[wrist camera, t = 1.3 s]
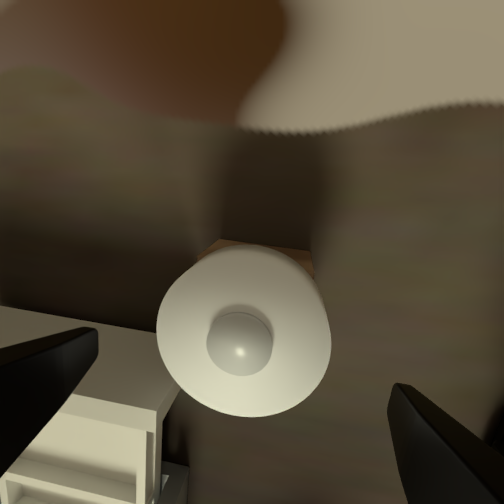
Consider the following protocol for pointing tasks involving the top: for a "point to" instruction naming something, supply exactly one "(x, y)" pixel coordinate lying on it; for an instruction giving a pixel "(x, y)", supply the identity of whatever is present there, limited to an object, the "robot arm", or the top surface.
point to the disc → (245, 331)
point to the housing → (172, 483)
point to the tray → (95, 421)
